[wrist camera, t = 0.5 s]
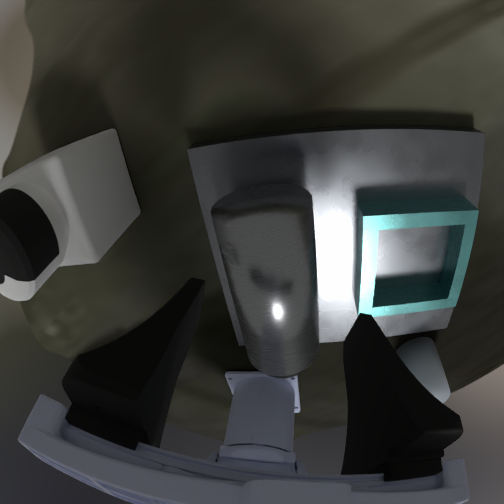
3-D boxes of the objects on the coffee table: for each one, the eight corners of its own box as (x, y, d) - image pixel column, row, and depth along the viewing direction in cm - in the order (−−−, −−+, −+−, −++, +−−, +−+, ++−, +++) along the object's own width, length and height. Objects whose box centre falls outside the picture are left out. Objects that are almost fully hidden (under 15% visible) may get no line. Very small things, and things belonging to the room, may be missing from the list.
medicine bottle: (52, 150, 21) (-56, 218, 11) (117, 126, 19) (-8, 191, 9) (78, 224, 24) (-6, 313, 14) (143, 212, 23) (56, 319, 13)
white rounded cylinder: (428, 361, 29) (441, 408, 24) (390, 367, 30) (400, 416, 25) (439, 333, 27) (456, 383, 21) (398, 340, 27) (411, 393, 22)
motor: (442, 317, 25) (464, 373, 19) (241, 333, 29) (229, 396, 23) (474, 128, 16) (535, 158, 10) (193, 144, 20) (151, 179, 14)
